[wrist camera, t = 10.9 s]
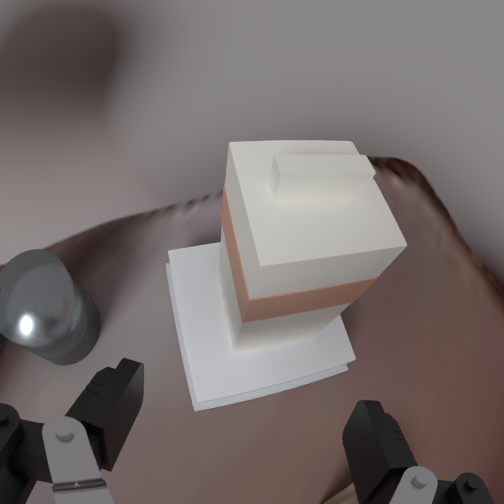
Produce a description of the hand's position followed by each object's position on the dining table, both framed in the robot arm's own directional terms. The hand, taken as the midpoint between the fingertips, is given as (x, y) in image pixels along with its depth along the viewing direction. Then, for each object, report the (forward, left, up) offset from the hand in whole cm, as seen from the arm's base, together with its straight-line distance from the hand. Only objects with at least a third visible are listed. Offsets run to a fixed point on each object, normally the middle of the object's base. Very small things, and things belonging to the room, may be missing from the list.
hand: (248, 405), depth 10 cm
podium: (+3, +6, -10) cm, 12 cm away
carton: (+3, +6, -7) cm, 9 cm away
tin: (-11, +8, -10) cm, 17 cm away
